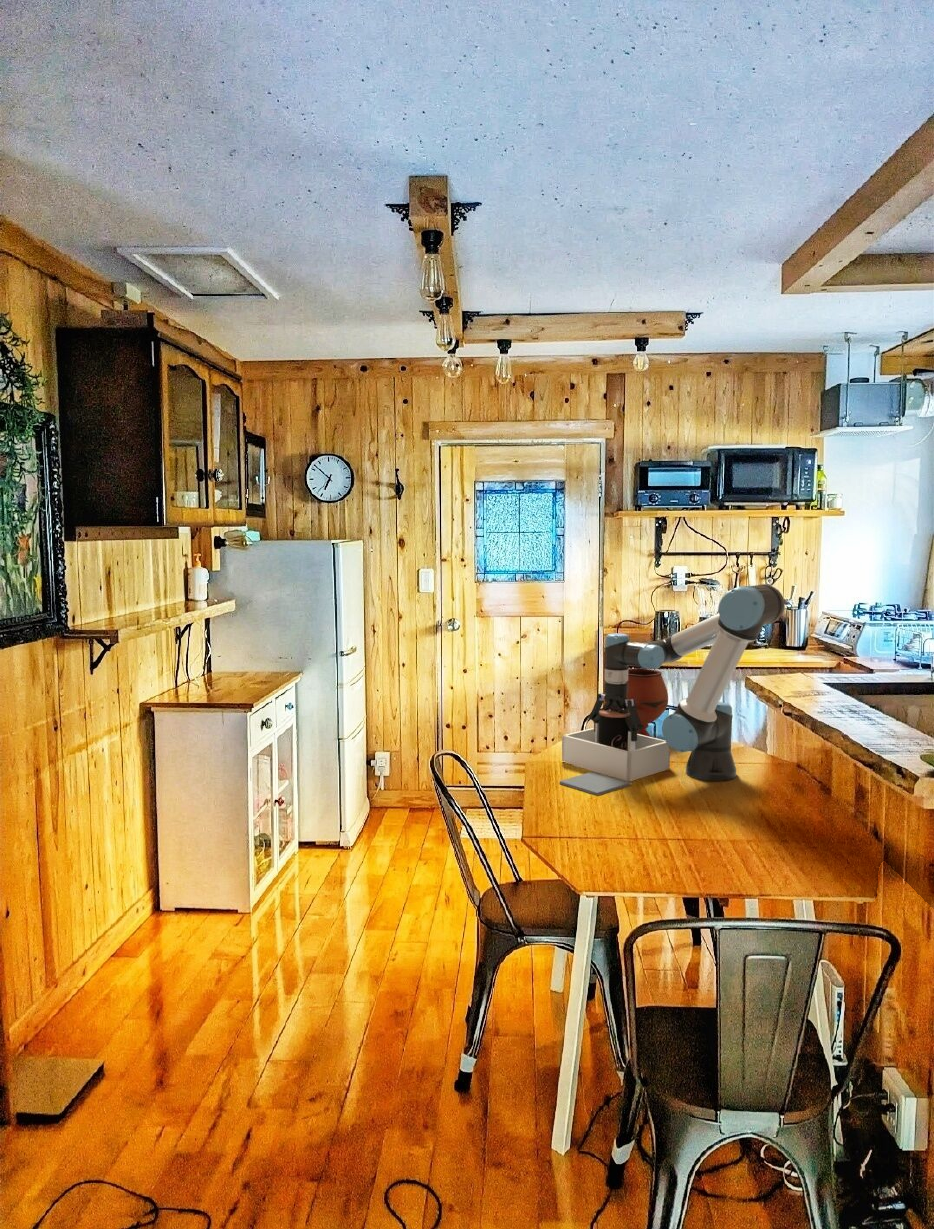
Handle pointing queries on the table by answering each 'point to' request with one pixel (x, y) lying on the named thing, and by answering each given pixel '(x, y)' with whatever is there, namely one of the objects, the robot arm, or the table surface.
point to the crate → (616, 756)
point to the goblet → (647, 695)
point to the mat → (595, 783)
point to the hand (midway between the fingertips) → (614, 746)
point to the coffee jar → (613, 729)
